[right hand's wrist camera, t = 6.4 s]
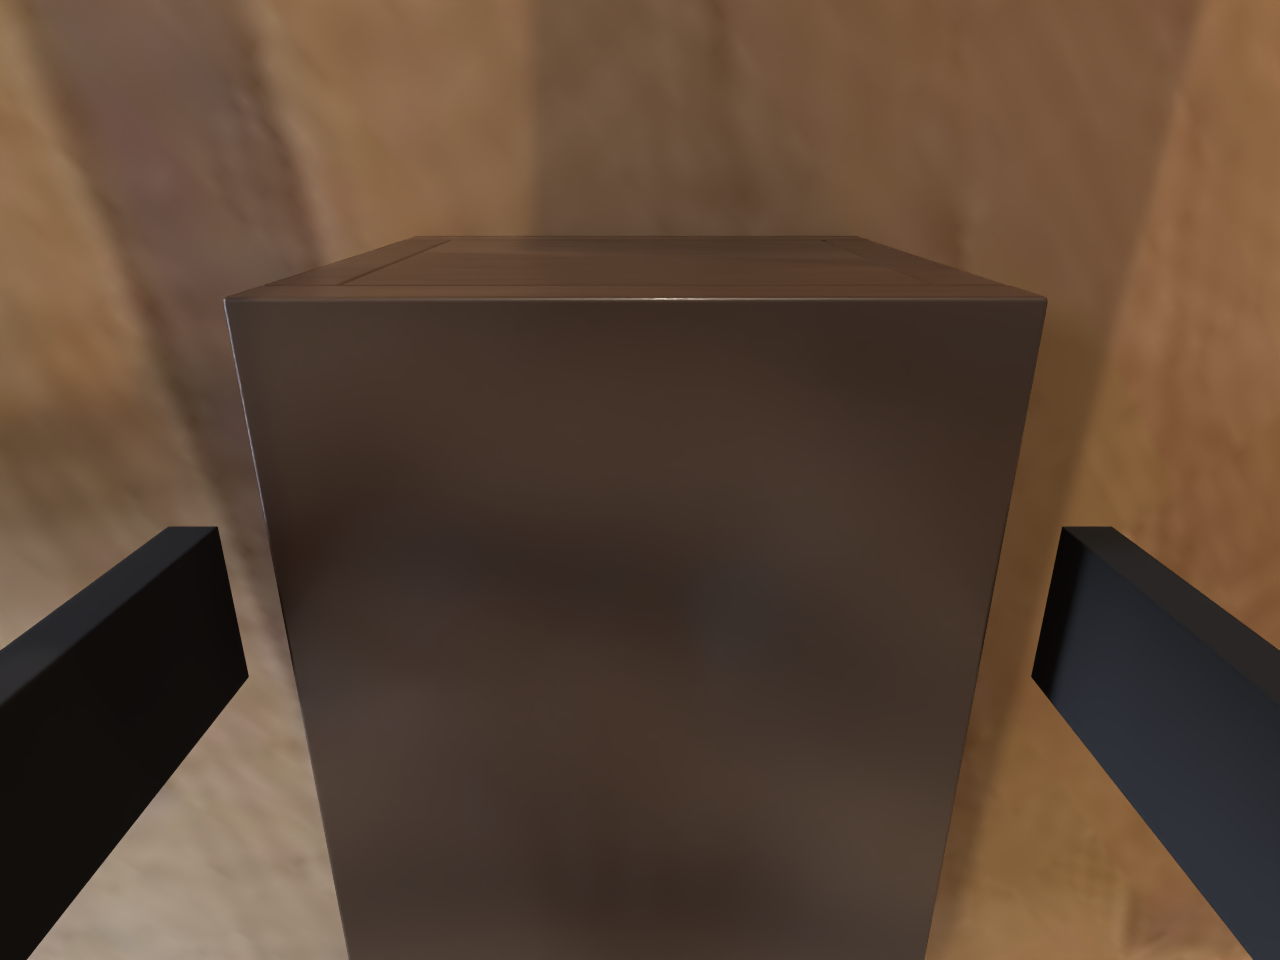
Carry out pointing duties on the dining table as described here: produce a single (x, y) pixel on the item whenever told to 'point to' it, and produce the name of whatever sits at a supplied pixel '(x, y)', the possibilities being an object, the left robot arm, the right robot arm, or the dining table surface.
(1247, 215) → the dining table surface
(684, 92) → the dining table surface
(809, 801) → the cabinet
